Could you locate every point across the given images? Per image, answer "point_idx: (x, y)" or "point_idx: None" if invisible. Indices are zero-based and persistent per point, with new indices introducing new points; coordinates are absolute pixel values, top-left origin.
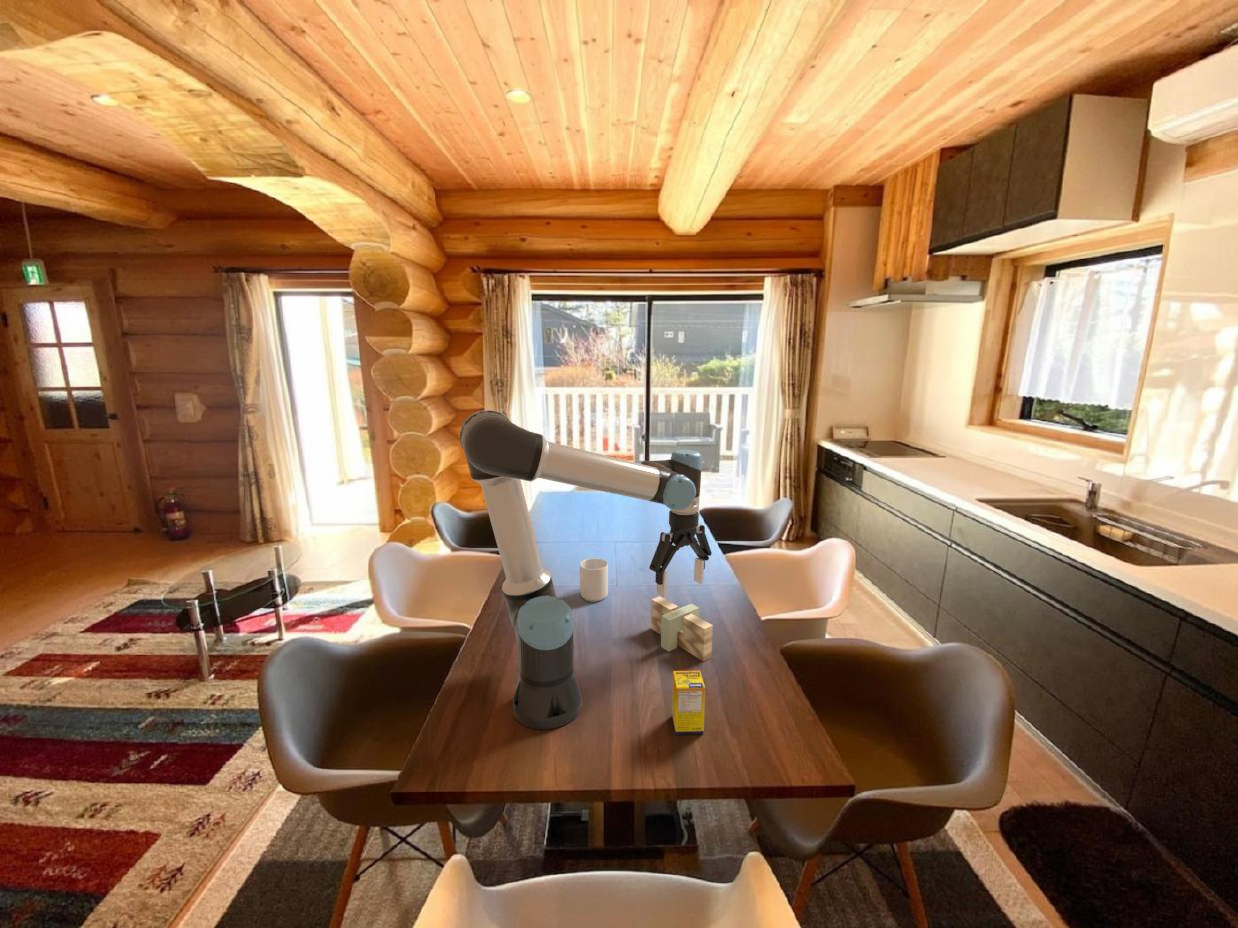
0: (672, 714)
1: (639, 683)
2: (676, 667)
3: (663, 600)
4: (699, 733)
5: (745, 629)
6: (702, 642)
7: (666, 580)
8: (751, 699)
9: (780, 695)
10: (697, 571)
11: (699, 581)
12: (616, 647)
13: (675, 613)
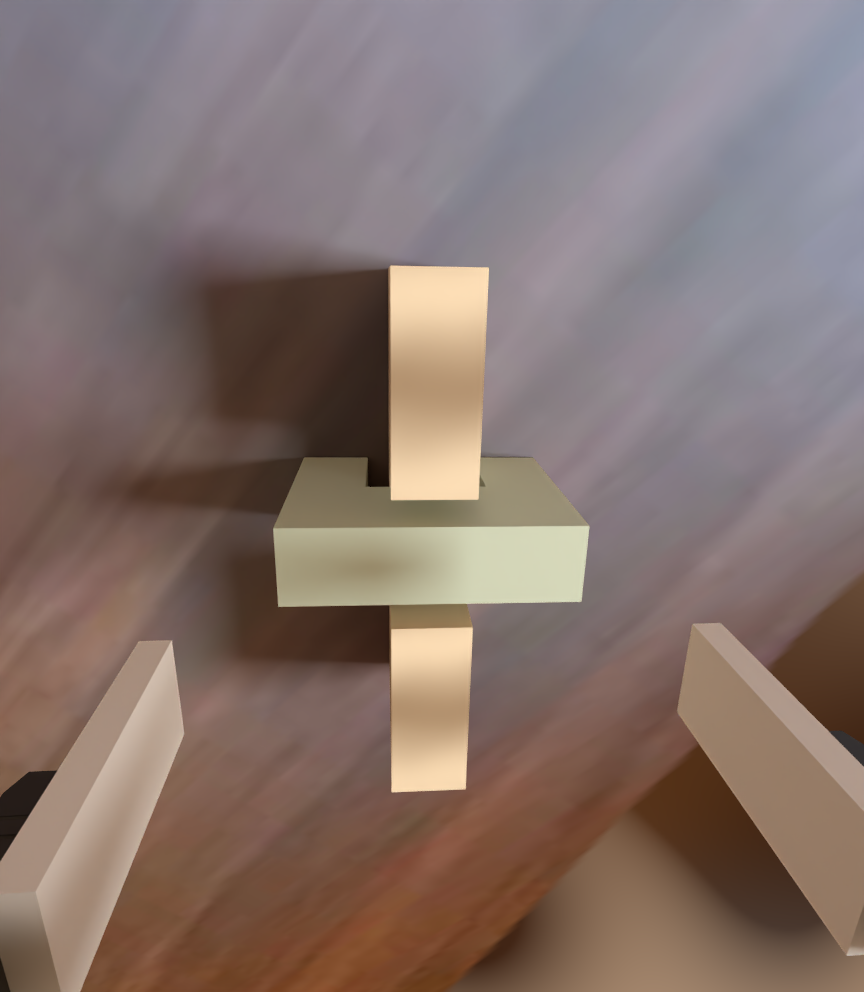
0: None
1: (18, 620)
2: (250, 629)
3: (458, 352)
4: None
5: (773, 599)
6: (390, 717)
7: (119, 893)
8: (354, 896)
9: (455, 927)
10: (750, 744)
11: (688, 704)
12: (70, 302)
13: (382, 563)
